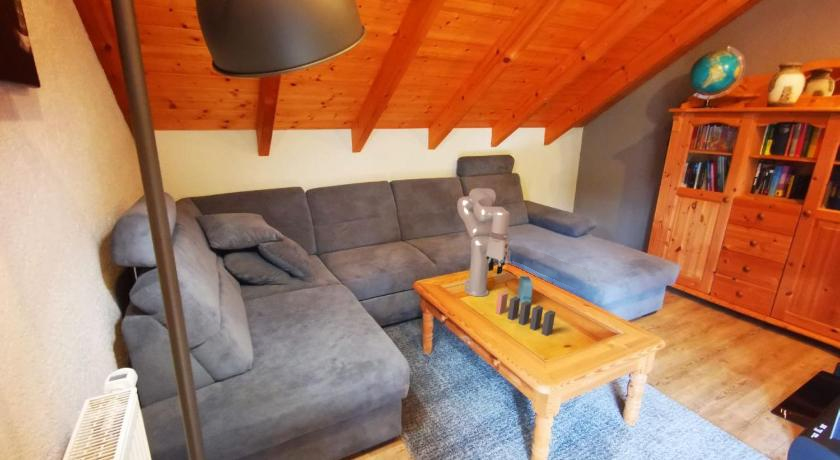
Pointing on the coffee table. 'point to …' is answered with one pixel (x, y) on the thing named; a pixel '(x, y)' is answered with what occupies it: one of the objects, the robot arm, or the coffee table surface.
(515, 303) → the domino
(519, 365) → the coffee table surface
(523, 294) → the data package
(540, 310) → the domino
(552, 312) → the domino
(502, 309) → the domino
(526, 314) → the domino
